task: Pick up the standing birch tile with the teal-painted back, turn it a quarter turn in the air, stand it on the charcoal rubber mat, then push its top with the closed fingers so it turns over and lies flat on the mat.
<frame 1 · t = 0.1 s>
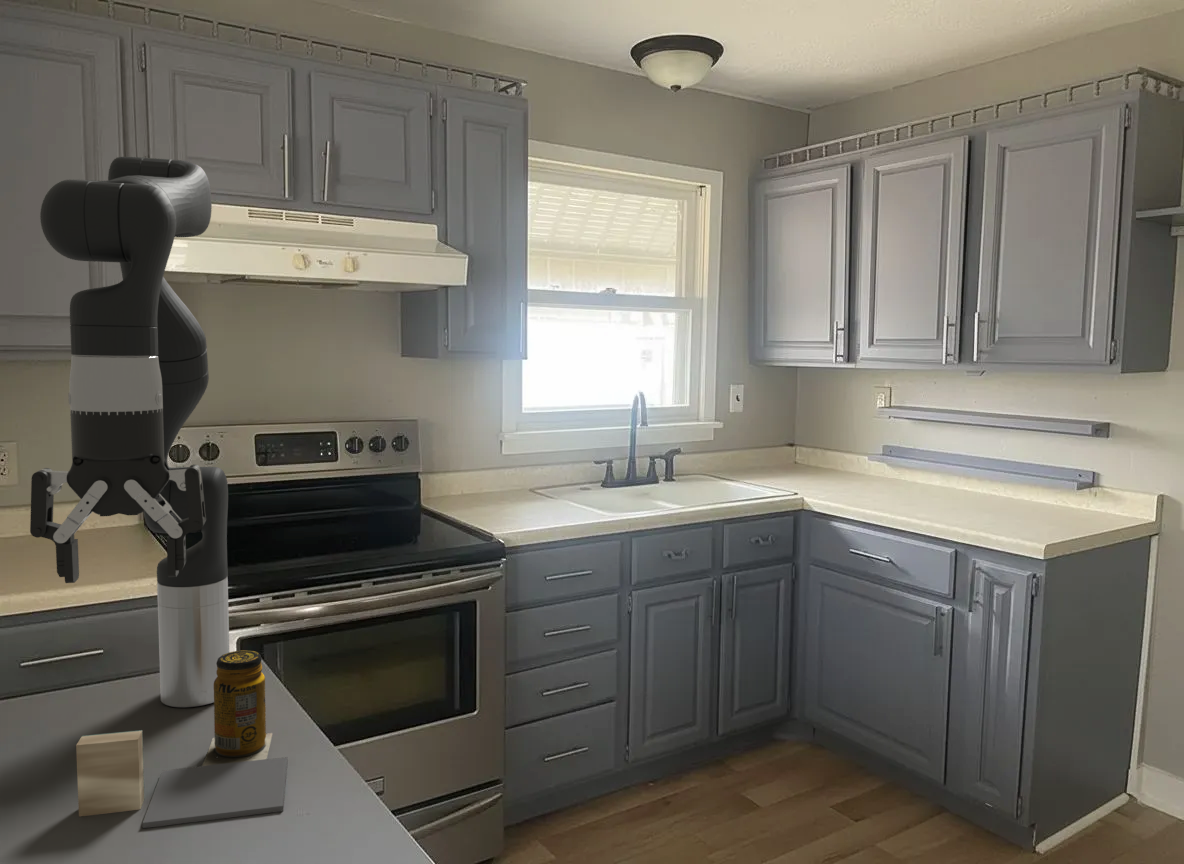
hand: (123, 578, 84), 29 cm above the countertop, fingers open, 8 cm apart
condiment: (238, 753, 112), on the countertop
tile: (112, 807, 98), on the countertop
mat: (220, 792, 102), on the countertop
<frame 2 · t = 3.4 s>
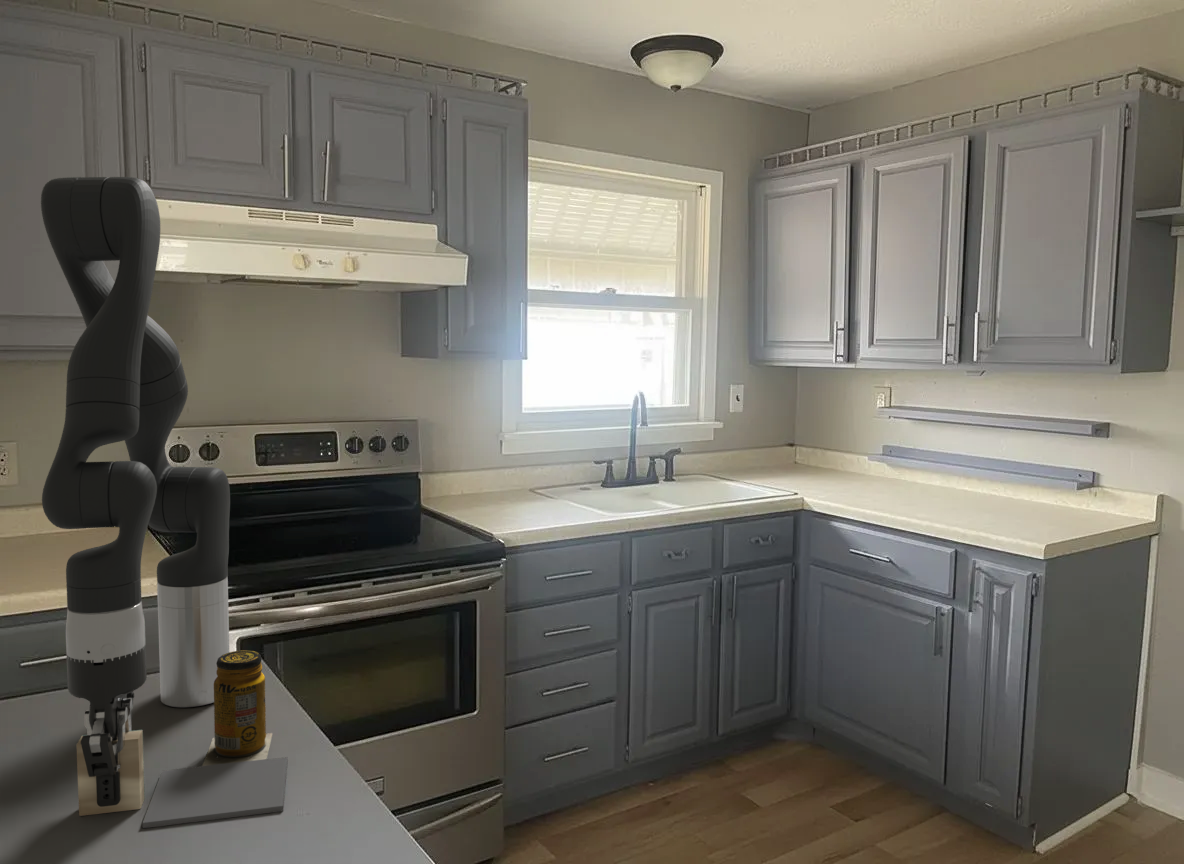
hand: (112, 797, 98), 1 cm above the countertop, fingers closed on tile, 2 cm apart
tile: (112, 806, 98), on the countertop, touching gripper
everything else where it was.
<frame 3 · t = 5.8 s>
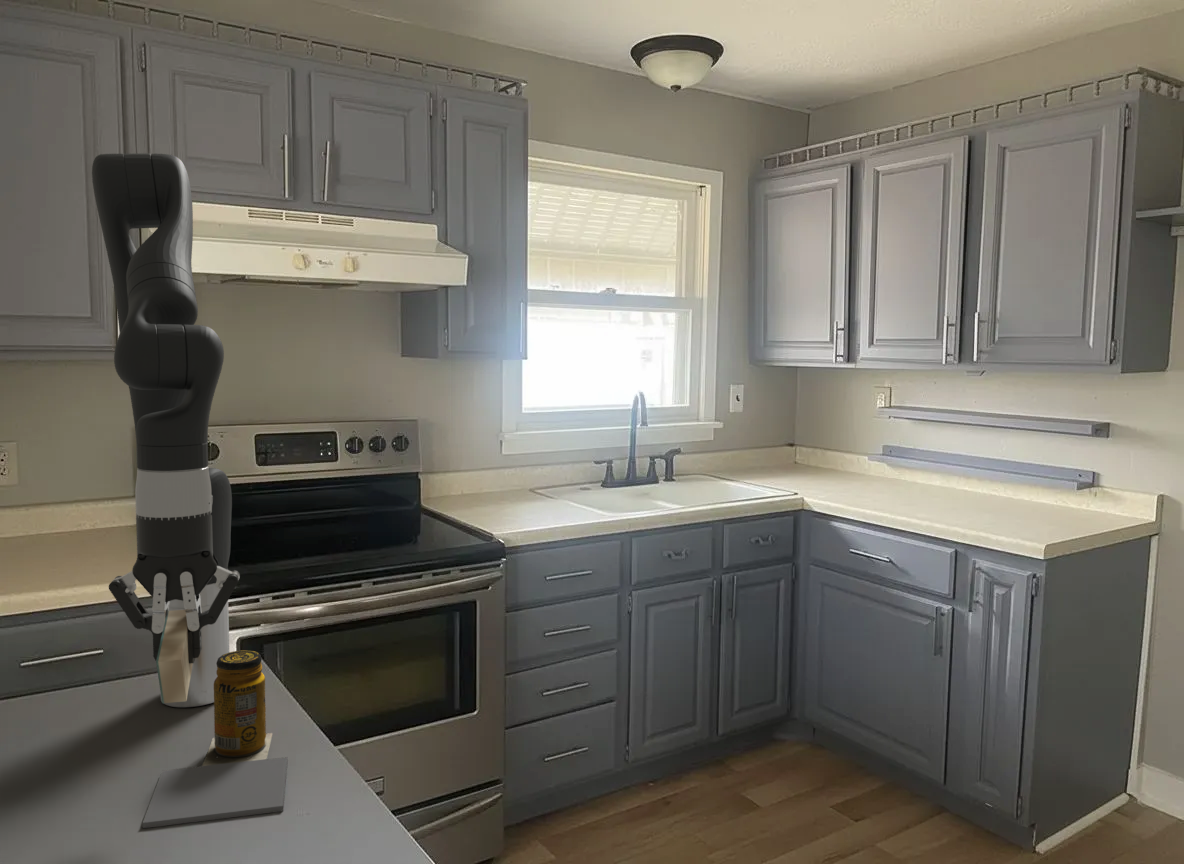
hand: (178, 661, 99), 16 cm above the countertop, fingers closed on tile
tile: (171, 681, 95), point 15 cm above the countertop, tilted 66°, touching gripper
everything else where it was.
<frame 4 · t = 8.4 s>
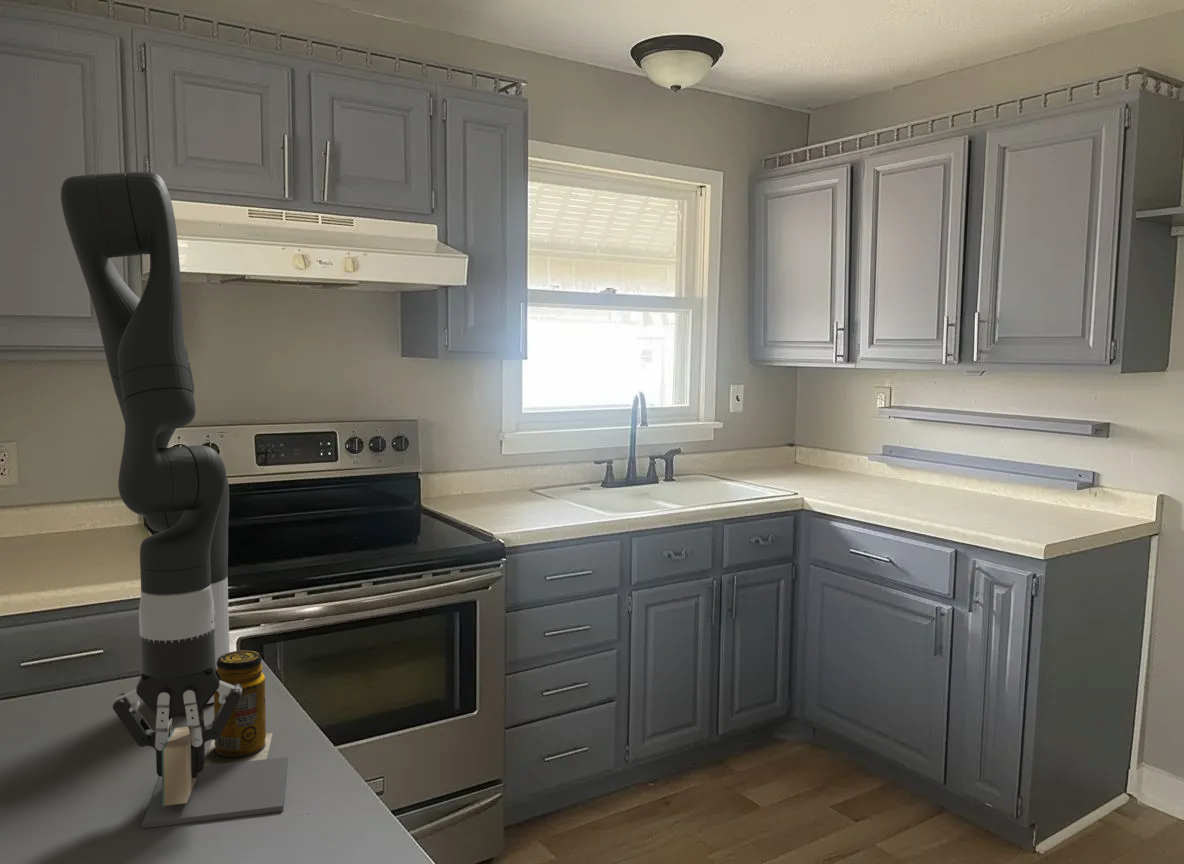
hand: (181, 775, 101), 2 cm above the countertop, fingers closed on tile, 2 cm apart
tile: (174, 776, 96), point 5 cm above the countertop, tilted 98°, touching gripper
everything else where it was.
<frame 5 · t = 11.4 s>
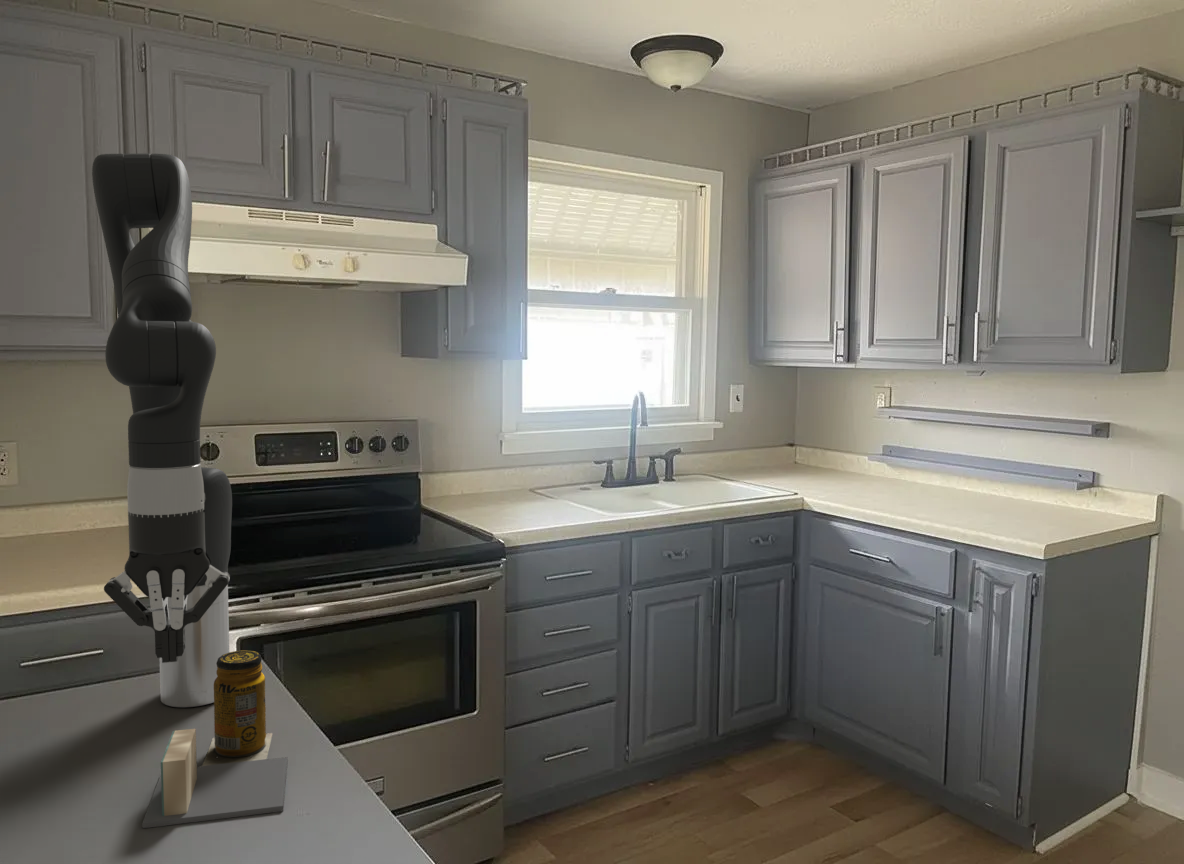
hand: (171, 659, 99), 16 cm above the countertop, fingers closed
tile: (173, 787, 96), point 4 cm above the countertop, tilted 90°, touching mat
everything else where it was.
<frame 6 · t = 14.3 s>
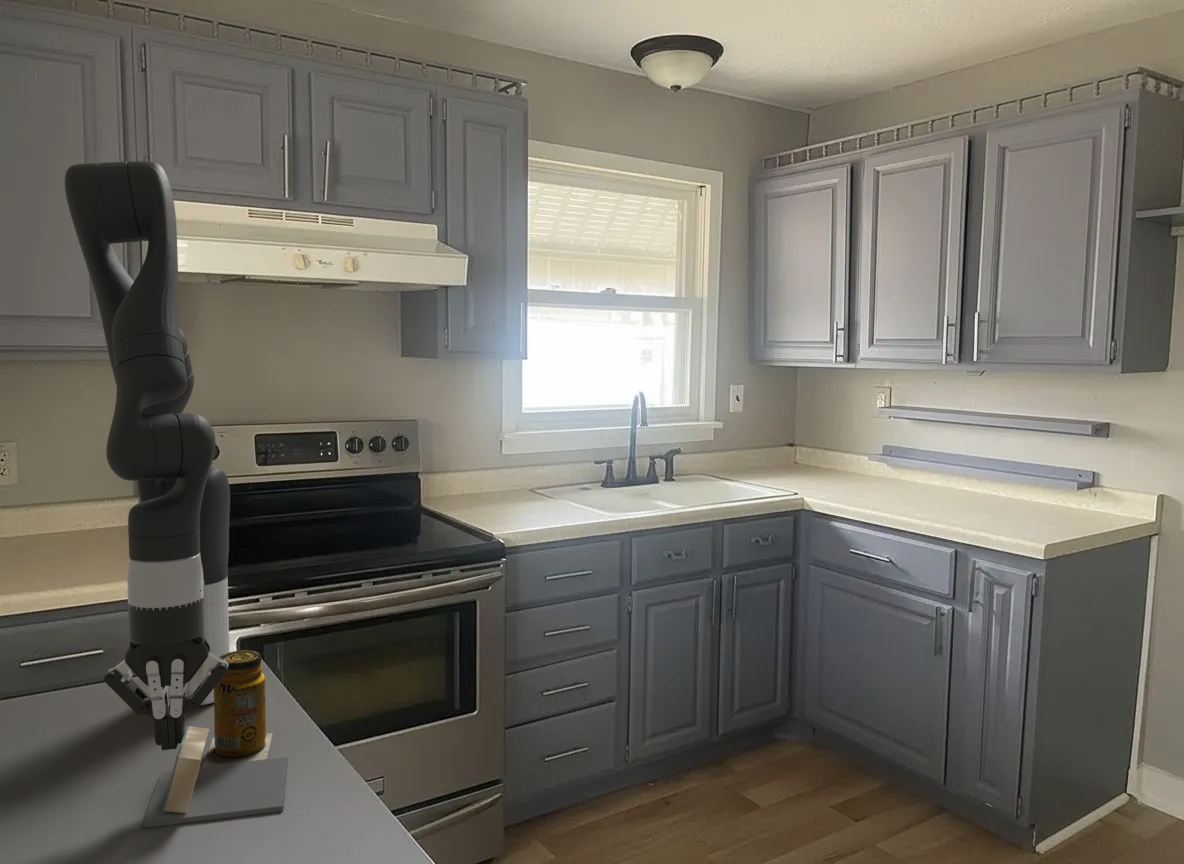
hand: (170, 746, 100), 6 cm above the countertop, fingers closed
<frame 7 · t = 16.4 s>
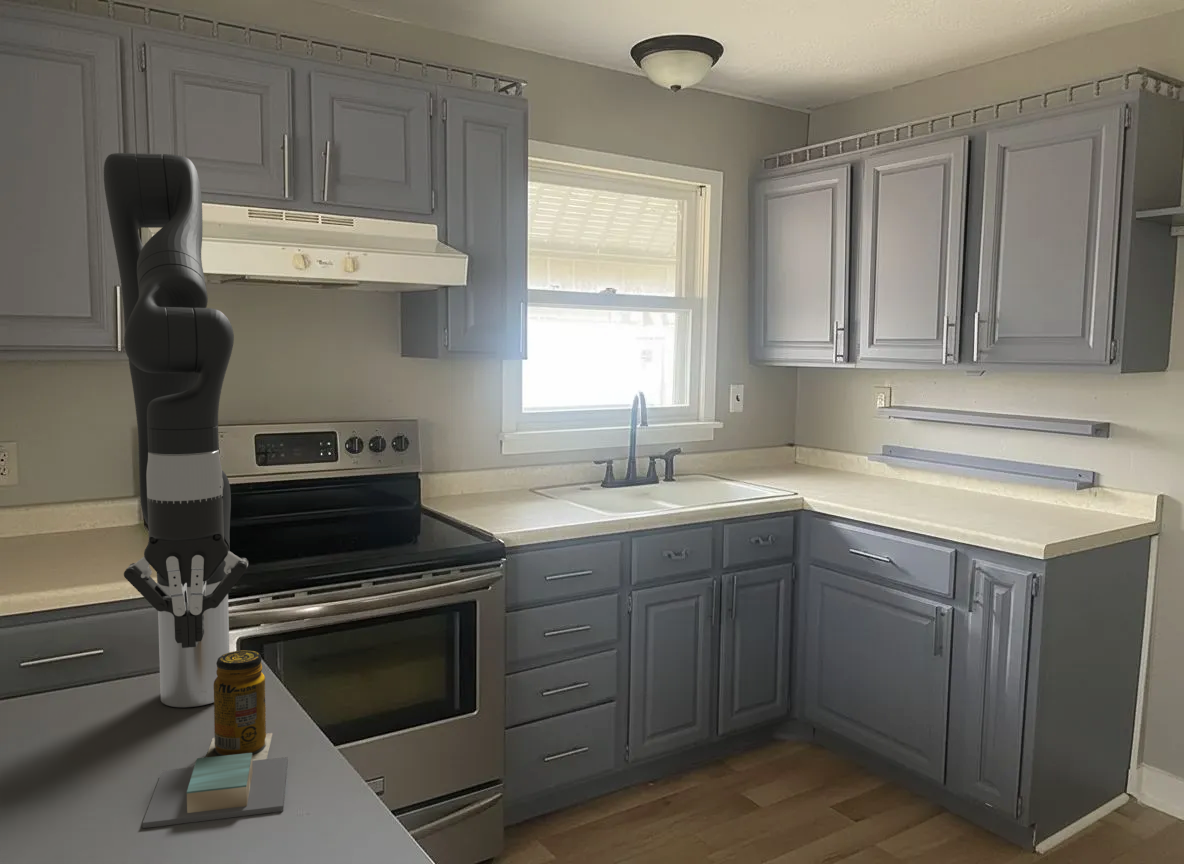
hand: (190, 645, 99), 17 cm above the countertop, fingers closed
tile: (217, 799, 97), point 2 cm above the countertop, tilted 90°, touching mat
everything else where it was.
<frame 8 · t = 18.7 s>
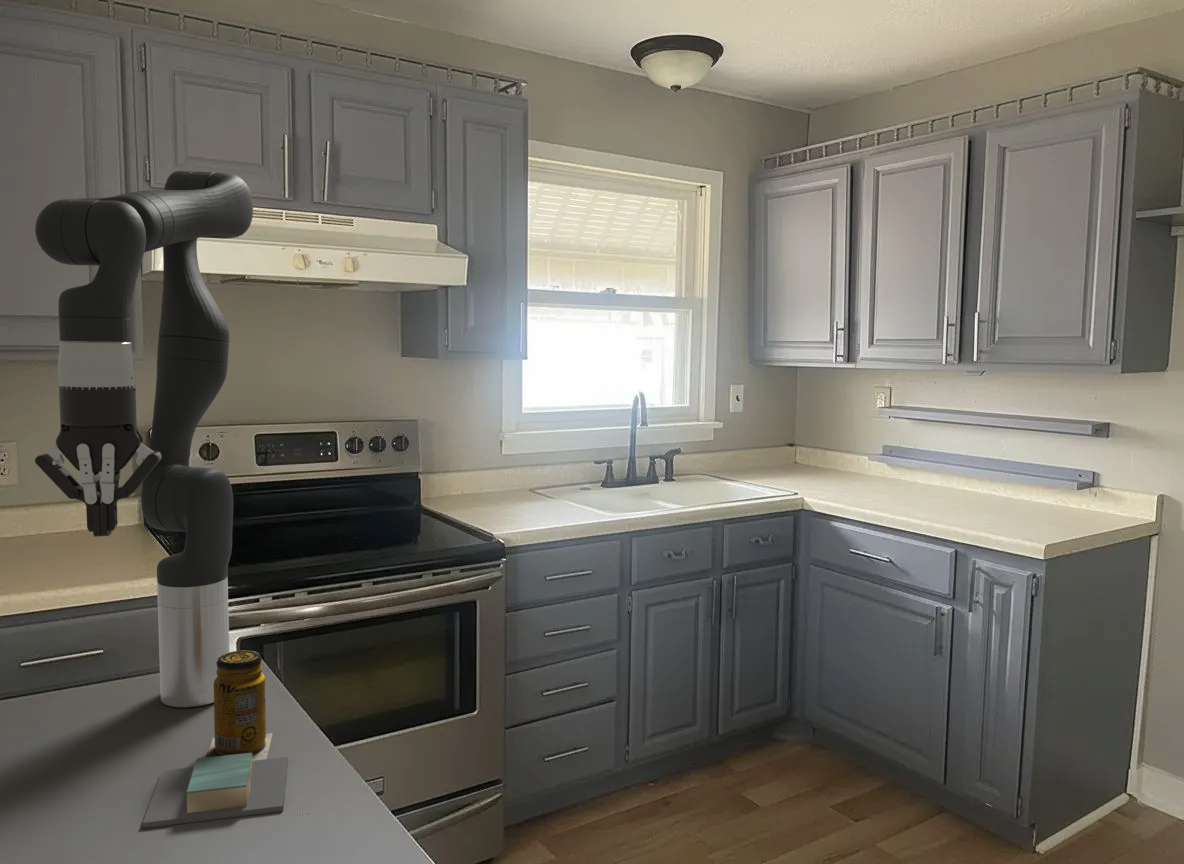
hand: (103, 534, 102), 29 cm above the countertop, fingers closed
nothing on the countertop moved.
at the end: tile tilted 90°; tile inside the target area (5.4 cm from its centre), point 1.8 cm above the countertop; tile touching mat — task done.
